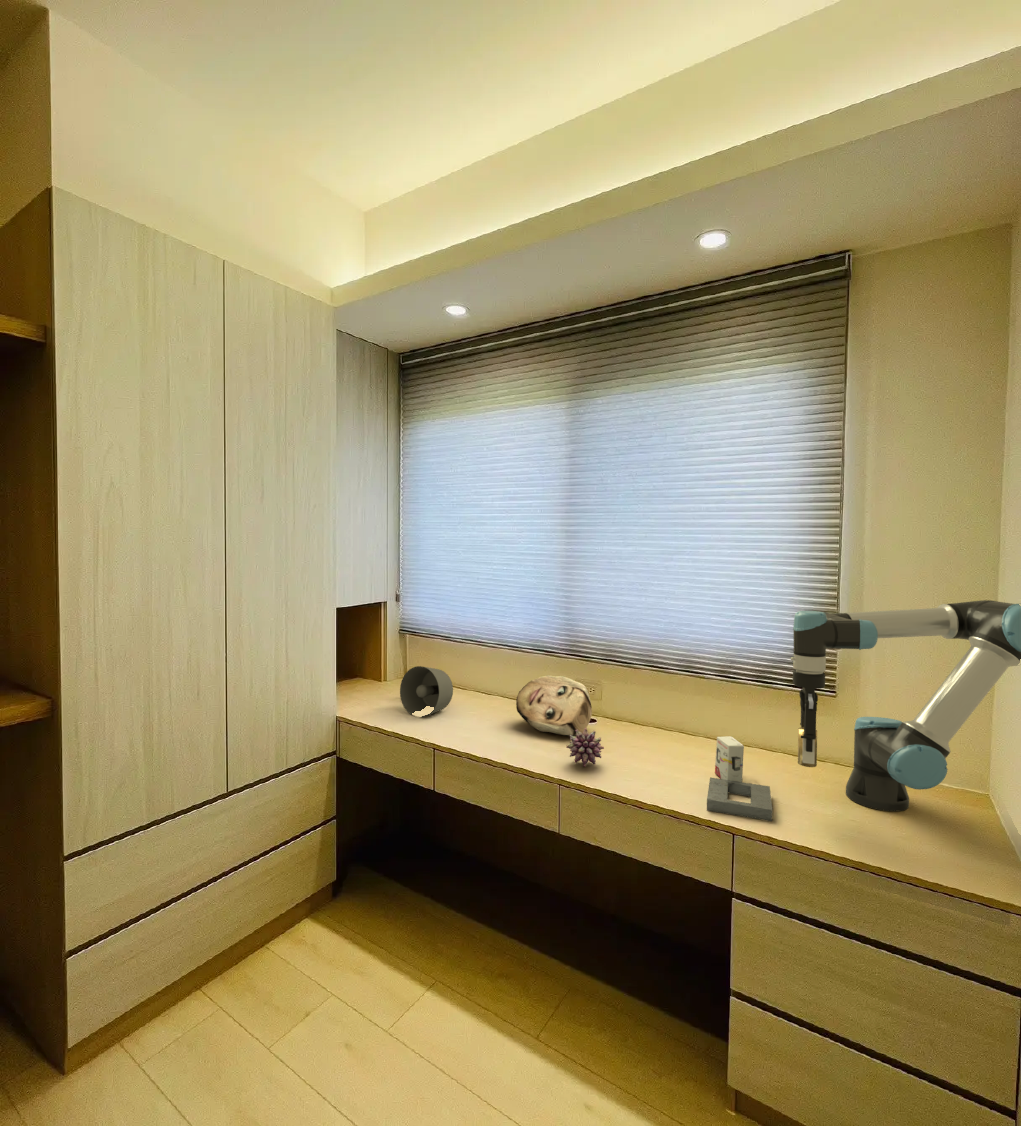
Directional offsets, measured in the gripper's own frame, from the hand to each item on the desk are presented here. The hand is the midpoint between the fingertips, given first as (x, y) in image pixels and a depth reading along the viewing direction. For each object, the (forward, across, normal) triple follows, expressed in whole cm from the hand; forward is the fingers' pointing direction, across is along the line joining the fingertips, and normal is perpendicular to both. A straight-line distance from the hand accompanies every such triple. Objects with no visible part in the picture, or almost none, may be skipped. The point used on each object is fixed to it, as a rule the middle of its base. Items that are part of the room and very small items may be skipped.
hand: (807, 759), depth 153 cm
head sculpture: (+15, -42, -84) cm, 95 cm away
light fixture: (+14, -49, -139) cm, 148 cm away
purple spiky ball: (+15, -12, -62) cm, 65 cm away
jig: (+15, -2, -16) cm, 22 cm away
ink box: (+15, -19, -20) cm, 31 cm away
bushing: (+1, 0, 0) cm, 1 cm away
